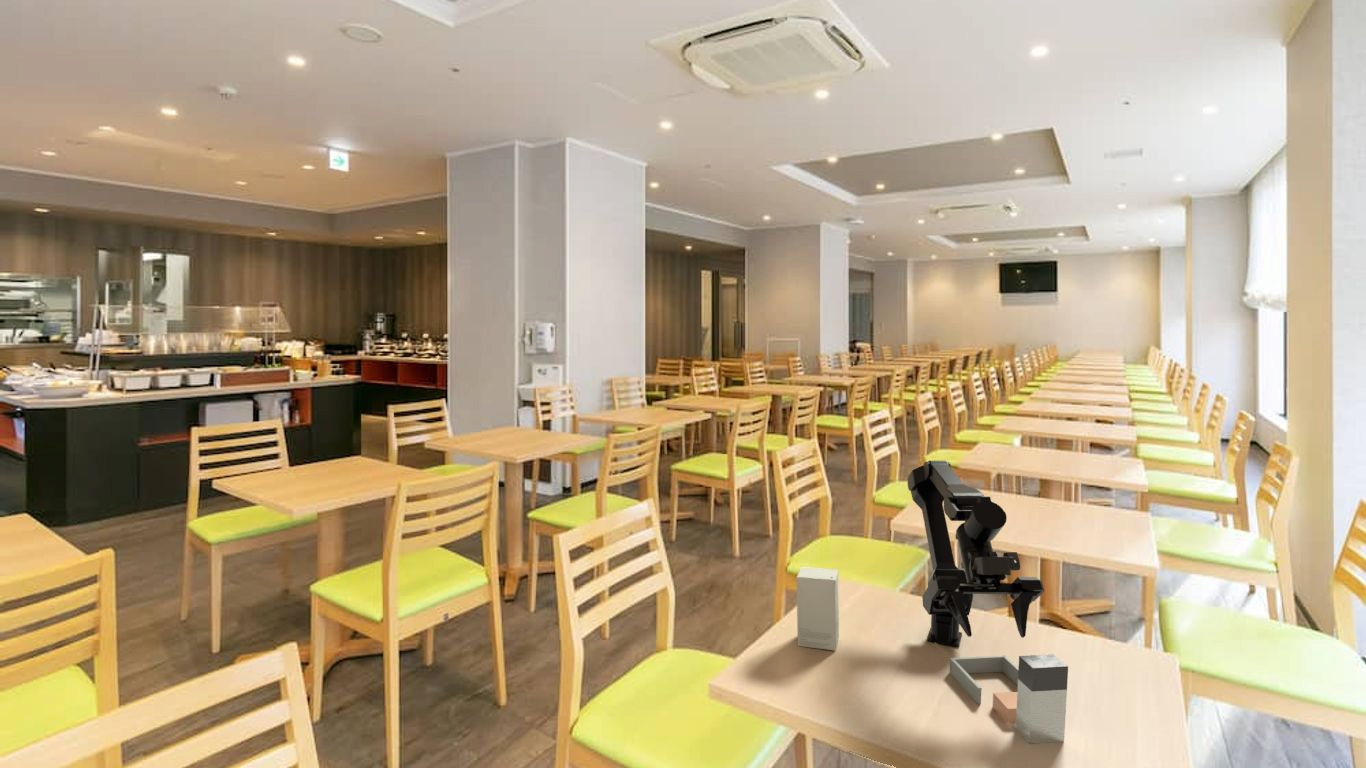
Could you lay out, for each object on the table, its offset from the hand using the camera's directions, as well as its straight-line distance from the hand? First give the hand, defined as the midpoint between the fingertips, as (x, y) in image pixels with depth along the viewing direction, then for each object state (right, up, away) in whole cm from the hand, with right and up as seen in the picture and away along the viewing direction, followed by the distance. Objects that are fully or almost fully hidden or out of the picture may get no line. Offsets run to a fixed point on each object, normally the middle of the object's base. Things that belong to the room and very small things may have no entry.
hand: (996, 636), depth 123 cm
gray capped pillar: (+4, -14, -6) cm, 16 cm away
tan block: (+4, -14, 0) cm, 14 cm away
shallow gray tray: (+3, -13, +9) cm, 16 cm away
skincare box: (-26, -11, +26) cm, 39 cm away
